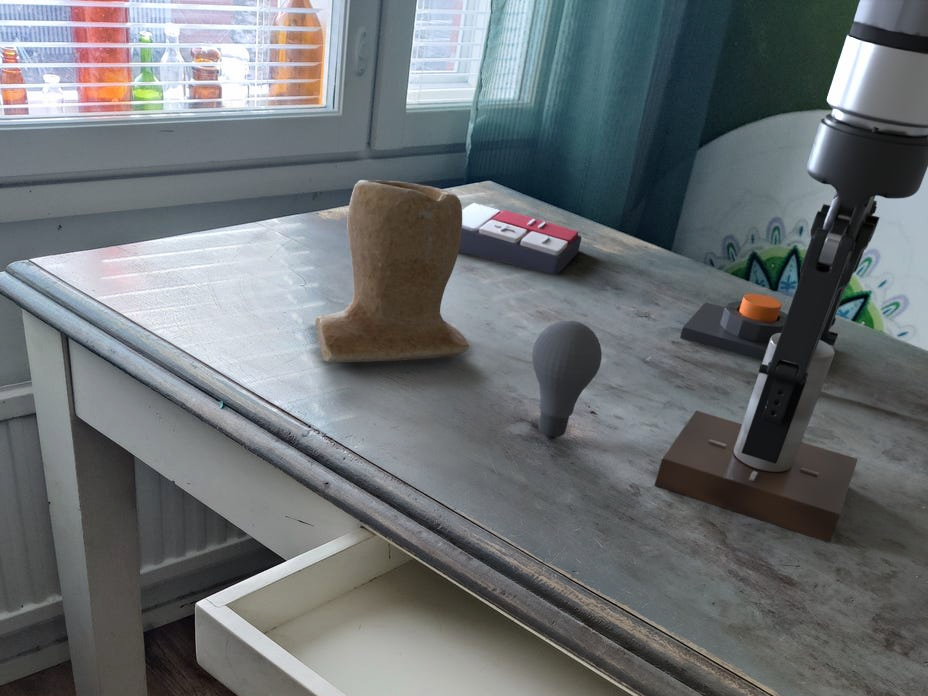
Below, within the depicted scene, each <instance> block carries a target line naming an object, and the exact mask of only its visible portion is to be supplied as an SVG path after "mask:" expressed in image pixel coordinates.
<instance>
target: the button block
mask: <svg viewBox="0 0 928 696" xmlns="http://www.w3.org/2000/svg"><path fill="white" fill-rule="evenodd" d="M741 303H742V300H739V301H732V302H728V303H727V304H726V305H725V306H721V305H718V304H715V303H710V302H707V301H705V302H704V303H703V304H702V305H701V306H700V308H699V309H697V311H696V312H695V313H694V314H693V315H692V316H691V318H690V319H688V321H687V322H686V323H685V324H684V325H683V326H682V329H681V333H680V335H679V339H682V340H685V341H688V342H689V341H690V342H693V343H697V344H700V345H702V346H703V345H704V346H706V347H707V346H708V347H711V348H714V349H718V350H721V351H725V352H729V353H732V354H735V355H740V356H743V357H747V358H750V359H754V360H757V361H761V362H763V359H764V356H765V353H766V350H767V347H768V344H769V341H770V338H771V337H772V336H773V335H774V334H777V333H781V332H782V329H783V326H784V323H785V320H786V317H787V315H788V313H787V312H785V311H783V310H780V312H779V315H778V318H777V321H776V322H765V321H758V320H754V319H750V318H748V317H746V316H743V315H741V314H740V313H739V310H740V306H741Z"/></svg>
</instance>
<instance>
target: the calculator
mask: <svg viewBox="0 0 928 696" xmlns="http://www.w3.org/2000/svg"><path fill="white" fill-rule="evenodd" d="M581 242H582V236H581V235H579V231H578V230H576V229H572V228H568V227H566V226H561V225H558V224H554V223H552V222H548V221H544V220H540V219H538V218H533V217H531V216H527V215H523V214H521V213H516V212H513V211H510V210H506V209H505V210H502V211H501V210H499V209H497V208H493V207H489V206H486V205H483V204H479V203H471V204H469V205H467V206H466V207H465V208H462V231H461V241H460V248H459V252H458V253H462V254H467V255H471V256H475V257H481V258H484V259H488V260H493V261H496V262H502V263H505V264H510V265H514V266H519V267H522V268H526V269H530V270H533V271H534V270H536V271H538V272H539V271H540V272H543V273H548V274H551V275H558V274H559V273H560V272H561V271H562V270H563V269H564V268H565V267H566V266H567V265H568V264H569V263H570V262H571V260H572V259H574V257H576V255H577V254H578V253H579V251H580V246H581Z"/></svg>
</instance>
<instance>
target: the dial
mask: <svg viewBox="0 0 928 696" xmlns="http://www.w3.org/2000/svg"><path fill="white" fill-rule="evenodd" d="M780 335H781V333H777V334H774V335H773V336H772V337H771V338H770V341H769V344H768V347H767V350H766V353H765V356H764V359H763V361H761V362H762V363H761V364H764V365H768V364H769V362H771V360H772V357H773V354H774V352H775V349H776V346H777V343H778V340H779V337H780ZM835 354H836V352H835V349H834V348H833V346H831V345H828V344H827V343H825V342H823V341H821V340H819V343H818V345H817V348H816V350H815V353H814V356H813V358H812V361H811V364H810V366H809V369H808V371H807V372H808V377H807V379H806V380H807V381H806V384H805V387H804V390H803V392H802V395H801V398H800V401H799V403H798V406H797V409H796V411H795V414H794V417H793V420H792V422H791V425H790V428H789V431H788V433H787V436H786V439H785V442H784V444H783V447H782V450H781V453H780V455H779V458H778V461H777V463H776V464H775V463H772V462H769V461H765V460H762V459H759V458H756V457H753V456H749V455H746V454H743V453H741V452H742V449H743V447H744V444H745V441H746V438H747V435H748V432H749V429H750V426H751V423H752V420H753V417H754V414H755V411H756V408H757V405H758V402H759V399H760V396H761V393H762V390H763V387H764V384H765V381H766V378H767V375H766V374H762V373H759V372H758V375H757V378H756V381H755V384H754V387H753V389H752V393H751V396H750V399H749V401H748V404H747V407H746V411H745V414H744V416H743V420H742V423H741V424H742V426H741V429H740V432H739V435H738V438H737V441H736V444H735V447H734V454H735V456H736V457H737V458H738V459H739V460H740V461H742V462H743V463H745V464H747V465H749V466H751V467H753V468H756V469H760V470H764V471H770V472H783V471H786V470H789V469H790V468H791V467H792V466H793V463H794V461H795V458H796V455H797V453H798V450H799V447H800V445H801V442H803V439H804V436H805V434H806V432H807V428H808V426H809V423H810V421H811V418H812V416H813V413H814V410H815V408H816V404H817V402H818V400H819V397H820V394H821V392H822V388H823V386H824V384H825V380H826V379H827V375H828V373H829V370H830V368H831V365H832V362H833V361H834V360H833V359H834V356H835ZM783 361H785V360H783ZM787 362H789V361H787ZM790 363H792V362H790ZM794 364H796V363H794Z"/></svg>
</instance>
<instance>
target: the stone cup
mask: <svg viewBox="0 0 928 696" xmlns="http://www.w3.org/2000/svg"><path fill="white" fill-rule="evenodd" d="M462 210H463V207H462V202H461V200H460V199H459V197H458V195H456V194H455V193H454V192H449V191H447V190H445V189H442V188H438V187H434V186H431V185H430V186H429V185H423V184H418V183H412V182H406V181H405V182H404V181H397V180H395V181H394V180H382V179H381V180H380V179H360V180H358V181H357V182H356V183H355V185H354V187H353V190H352V193H351V196H350V199H349V205H348V209H347V215H346V228H347V237H348V244H349V245H348V246H349V253H350V261H351V266H352V278H353V295H352V299H351V302H350V303H349V304H348V305H347V307H346V308H344V309H343V310H342V311H338V312H335V313H329V314H324V315H319V316H317V317H316V319H315V328H316V330H317V341H318V342H319V351H320V355H321V357H322V360H323V361H324V362H326V363H327V362H328V363H345V362H346V363H353V362H354V363H355V362H359V363H361V362H362V363H363V362H365V363H366V362H367V363H368V362H369V363H370V362H395V361H407V360H408V361H409V360H425V359H436V358H443V357H444V358H445V357H453V356H459V355H462V354H465V353H466V352H468V350H469V346H470V345H469V343H468V341H467V339H466V337H465V335H463V333H461V332H460V331H459V329H457V328H455V327H454V326H453V325H452V324H451V323H449V322H447V321H446V320H444V319H443V317H442V315H441V305H442V302H443V301H442V300H443V296H444V294H445V291H446V287H447V284H448V282H449V280H450V279H451V276H452V274H453V271H454V268H455V265H456V262H457V260H458V256H459V253H460V252H459V248H460V241H461V231H462Z"/></svg>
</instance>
